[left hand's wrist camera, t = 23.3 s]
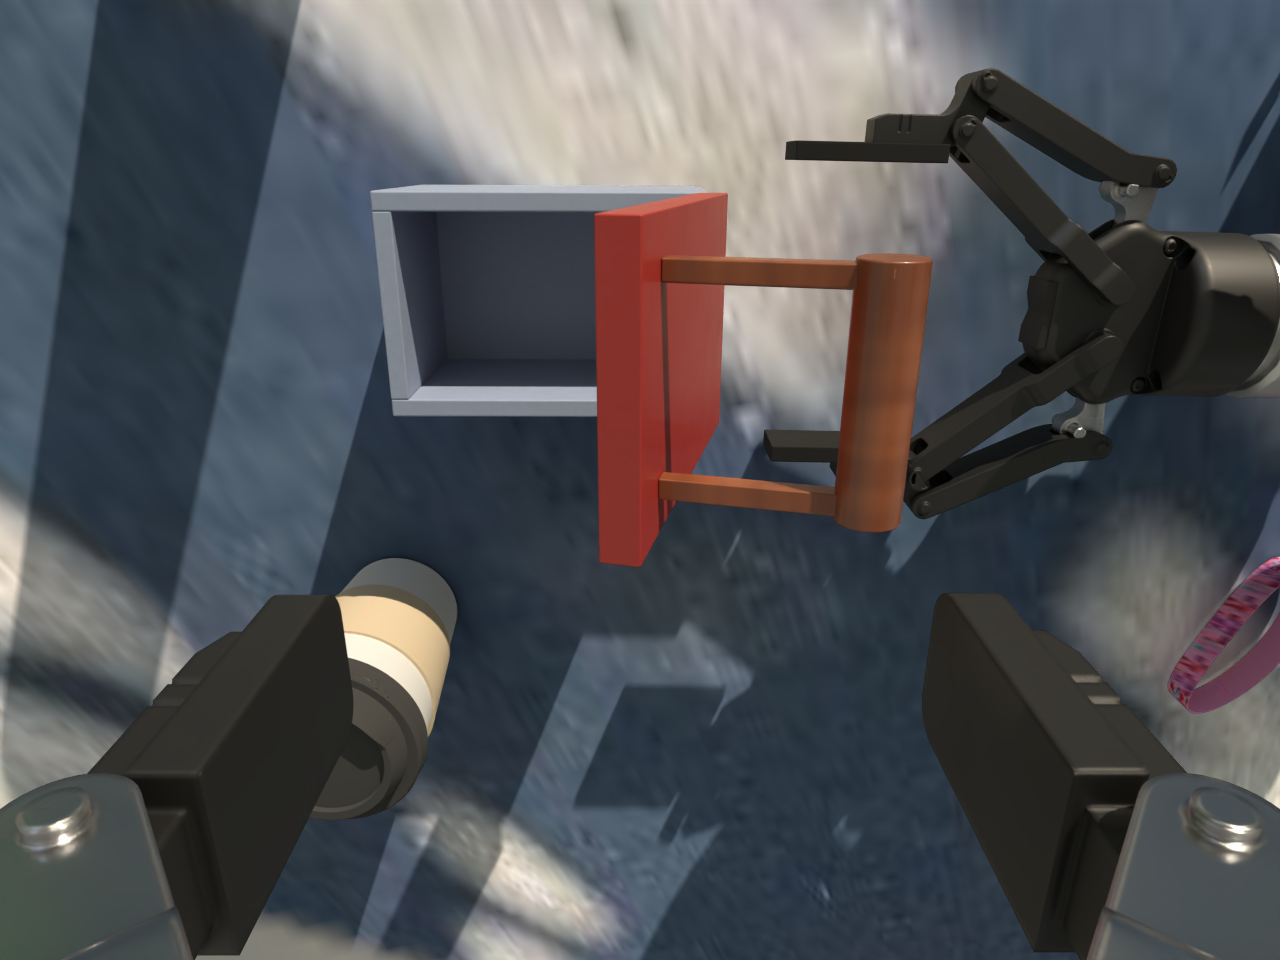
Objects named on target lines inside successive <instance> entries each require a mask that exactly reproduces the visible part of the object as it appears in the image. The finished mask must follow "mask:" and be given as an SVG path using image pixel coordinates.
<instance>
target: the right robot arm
mask: <svg viewBox="0 0 1280 960" xmlns="http://www.w3.org/2000/svg"><path fill="white" fill-rule="evenodd" d="M985 117H986V118H988V119H989V120H991V121H993V122H994V123H996V124H998V125H999V126H1001V127H1002V128H1004V129H1006V130H1007V131H1009V132H1010V133H1012V134H1014V135H1015V136H1017V137H1019V138H1020V139H1022V140H1023V141H1025V142H1027V143H1028V144H1030V145H1031V146H1033V147H1035V148H1036V149H1038V150H1040V151H1041V152H1043V153H1044V154H1046V155H1048V156H1049V157H1051V158H1052V159H1054V160H1056V161H1057V162H1059V163H1061V164H1062V165H1064V166H1065V167H1067V168H1069V169H1070V170H1072V171H1073V172H1075V173H1077V174H1079V175H1081V176H1083V177H1085V178H1087V179H1090V180H1093V181H1097V182H1102V183H1101V185H1100V186H1099V191H1100V194H1101V197H1102V198H1103V199H1104V200H1105V201H1107V202H1109V203H1111V204H1112V205H1113V206H1114V208H1115V213H1116V214H1115V219H1114V220H1111V221H1108V222H1106V223H1104V224H1103V225H1101V226H1100V227H1098V228H1096V229H1095V230H1093V231H1092V232H1090V233H1089V234H1087V233H1086V232H1085V230H1084V229H1083V228H1081V227H1080V226H1079V225H1078V224H1076V223H1074V222H1073V221H1071V220H1070V219H1069V218H1068V217H1067V216H1066V215H1065V214H1064V213H1063V212H1062V210H1061V209H1060V208H1059V207H1058V206H1057V205H1056V204H1055V203H1054V202H1053V201H1052V199H1051V198H1050V197H1049V196H1048V195H1047V194H1046V193H1045V192H1044V191H1043V190H1042V188H1041V187H1040V186H1039V185H1038V184H1037V183H1036V182H1035V181H1034V180H1033V179H1032V177H1031V176H1030V175H1029V174H1028V173H1027V172H1026V171H1025V170H1024V169H1023V168H1022V166H1021V165H1020V164H1019V163H1018V162H1017V161H1016V160H1015V159H1014V158H1013V157H1012V155H1011V154H1010V153H1009V152H1008V151H1007V150H1006V149H1005V148H1004V147H1003V146H1002V145H1001V143H1000V142H999V141H998V140H997V139H996V138H995V137H994V136H993V135H992V134H991V132H990V131H989V130H988V129H987V128H986V127H985V126H984V125H983V124H982V122H983V120H984V118H985ZM949 156H950V157H951V158H952V159H953V160H954V161H955V162H956V163H957V164H958V165H959V166H960V167H961V168H962V170H963V171H964V172H965V173H966V174H967V175H968V176H969V177H970V178H971V179H972V180H973V181H974V182H975V183H976V184H977V186H978V187H979V188H980V189H981V190H982V191H983V192H984V193H985V194H986V195H987V196H988V197H989V198H990V199H991V201H992V202H993V203H994V204H995V205H996V206H997V207H998V208H999V209H1000V210H1001V211H1002V212H1003V213H1004V214H1005V216H1006V217H1007V218H1008V219H1009V220H1010V221H1011V222H1012V223H1013V224H1014V225H1015V226H1016V227H1017V228H1018V229H1019V231H1020V232H1021V233H1022V234H1023V235H1024V236H1025V240H1026V242H1027V243H1028V244H1029V245H1030V246H1031V247H1032V248H1033V249H1034V250H1035V252H1036V253H1037V254H1038V255H1039V256H1040V257H1041V258H1042V259H1043V260H1044V261H1045V262H1044V263H1043V264H1042V265H1041V267H1040V268H1039V269H1038V271H1037V273H1036V275H1035V276H1030V279H1029V285H1028V290H1027V296H1028V311H1027V313H1026V316H1025V318H1024V320H1023V322H1022V324H1021V329H1020V334H1019V340H1018V341H1020V342H1022V343H1023V348H1024V351H1025V353H1024V354H1022V355H1021V356H1019V357H1018V358H1017V359H1015V360H1014V361H1012V362H1011V363H1010V364H1008V365H1007V366H1006V367H1004V369H1003V370H1002V372H1001V375H1000V376H998V377H997V378H996V379H994V380H993V381H992V382H990V383H989V384H987V385H986V386H984V387H983V388H982V389H980V390H979V391H977V392H976V393H975V394H973V395H972V396H970V397H969V398H968V399H966V400H965V401H963V402H962V403H960V404H959V405H958V406H956V407H955V408H953V409H952V410H951V411H949V412H948V413H946V414H945V415H944V416H942V417H941V418H939V419H938V420H936V421H935V422H934V423H932V424H931V425H929V426H928V427H927V428H925V429H924V430H922V431H921V432H919V433H918V434H917V435H915V436H914V437H912V438H911V441H910V449H909V457H908V465H907V473H906V481H905V490H904V498H903V501H904V502H905V503H906V505H907V506H908V507H909V509H910V510H911V511H912V512H913V514H914V515H915V516H916V517H918V518H919V519H927V518H930V517H933V516H935V515H937V514H940V513H942V512H945V511H947V510H950V509H952V508H955V507H957V506H959V505H962V504H964V503H967V502H969V501H972V500H974V499H976V498H979V497H981V496H984V495H986V494H989V493H991V492H993V491H996V490H998V489H1001V488H1003V487H1006V486H1008V485H1010V484H1013V483H1015V482H1018V481H1020V480H1023V479H1025V478H1027V477H1030V476H1032V475H1035V474H1037V473H1040V472H1042V471H1044V470H1047V469H1049V468H1052V467H1054V466H1057V465H1059V464H1062V463H1064V462H1076V461H1088V460H1099V459H1103V458H1105V457H1106V456H1108V455H1109V453H1110V452H1111V450H1112V447H1113V446H1112V441H1111V440H1110V439H1109V438H1108V437H1106V436H1104V435H1103V433H1102V432H1103V423H1104V413H1105V404H1106V403H1107V402H1109V401H1111V400H1113V399H1115V398H1118V397H1121V396H1125V395H1160V396H1209V397H1210V396H1219V395H1223V394H1224V395H1226V396H1229V397H1260V398H1280V234H1254V235H1251V236H1248V235H1246V234H1241V233H1213V232H1171V231H1157V230H1155V229H1153V228H1151V227H1150V226H1149V225H1148V224H1146V222H1147V219H1148V216H1149V213H1150V210H1151V207H1152V204H1153V201H1154V198H1155V195H1156V192H1157V189H1158V188H1163V187H1166V186H1168V185H1169V184H1170V183H1171V182H1172V181H1173V180H1174V178H1175V176H1176V172H1177V168H1176V164H1175V163H1174V162H1173V161H1172V160H1170V159H1167V158H1161V157H1154V156H1147V155H1141V154H1134V153H1129V152H1128V151H1126V150H1124V149H1123V148H1121V147H1120V146H1118V145H1117V144H1115V143H1113V142H1112V141H1110V140H1109V139H1107V138H1106V137H1104V136H1102V135H1101V134H1099V133H1098V132H1096V131H1094V130H1093V129H1091V128H1090V127H1088V126H1087V125H1085V124H1083V123H1082V122H1080V121H1079V120H1077V119H1075V118H1074V117H1072V116H1071V115H1069V114H1068V113H1066V112H1064V111H1063V110H1061V109H1060V108H1058V107H1057V106H1055V105H1053V104H1052V103H1050V102H1049V101H1047V100H1045V99H1044V98H1042V97H1041V96H1039V95H1038V94H1036V93H1034V92H1033V91H1031V90H1030V89H1028V88H1026V87H1025V86H1023V85H1022V84H1020V83H1019V82H1017V81H1015V80H1014V79H1012V78H1011V77H1009V76H1008V75H1006V74H1004V73H1003V72H1001V71H1000V70H998V69H995V68H989V69H985V70H981V71H977V72H973V73H969V74H966V75H964V76H962V77H961V78H960V79H959V80H958V82H957V84H956V87H955V95H954V97H953V100H952V102H951V104H950V105H949V107H948V109H947V110H946V111H945V112H943V113H942V114H940V115H923V114H883V115H879V116H876V117H873V118H871V119H868V120H867V126H866V136H865V142H834V141H790V142H786V155H785V160H822V161H866V162H910V163H948V158H949ZM1065 391H1067V392H1068V393H1070V394H1071V395H1072V396H1074V397H1076V402H1075V404H1074V406H1073V407H1072V408H1071V409H1070V410H1068V411H1066V412H1064V413H1061V414H1056V415H1055V416H1054V417H1053V418H1052V424H1047V425H1042V426H1038V427H1034V428H1031V429H1028V430H1026V431H1023V432H1021V433H1019V434H1016V435H1014V436H1011V437H1009V438H1007V439H1004V440H1002V441H1000V442H997V443H995V444H992V445H990V446H988V447H985V448H983V449H980V450H978V451H976V452H973V453H971V454H969V455H966V456H964V457H962V456H963V455H964V454H966V453H967V452H969V451H970V450H972V449H973V448H975V447H976V446H977V445H979V444H980V443H982V442H983V441H985V440H986V439H988V438H989V437H991V436H992V435H993V434H995V433H996V432H998V431H999V430H1001V429H1002V428H1004V427H1005V426H1006V425H1008V424H1009V423H1011V422H1012V421H1014V420H1015V419H1017V418H1018V417H1019V416H1021V415H1022V414H1024V413H1025V412H1027V411H1028V410H1030V409H1031V408H1033V407H1035V406H1041V405H1044V404H1047V403H1048V402H1050V401H1052V400H1053V399H1054V398H1056V397H1057V396H1059V395H1060V394H1062V393H1063V392H1065ZM839 439H840V431H803V430H764V441H763V444H764V447H765V449H766V451H767V453H768V456H769V458H770V460H771V461H779V462H830V468H831V470H832V471H833V473H834V474H835V476H836V471H837V461H838V450H839ZM960 457H961V458H960Z"/></svg>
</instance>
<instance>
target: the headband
mask: <svg viewBox="0 0 1280 960" xmlns="http://www.w3.org/2000/svg"><path fill="white" fill-rule="evenodd" d="M1279 587H1280V557H1276V558H1273V559H1271V560H1269V561H1267V562H1265V563H1264V564H1263V565H1261V566H1260V567H1259V568H1257V569H1256V570H1255V571H1254V572H1253V573H1252V574H1251V575H1250V576H1249V577H1248V578H1247V579H1246V580H1245V581H1244V582H1243V583H1242V584H1241V585H1240V586H1239V587H1238V588H1237V589H1236V590H1235V591H1234V593H1233V594H1232V595H1231V596H1230V597H1229V598H1228V599H1227V601H1226V602H1225V603H1224V604H1223V605H1222V607H1221V608H1220V609H1219V610H1218V611H1217V613H1216V614H1215V615H1214V616H1213V617H1212V619H1211V620H1210V621H1209V622H1208V624H1207V625H1206V626H1205V627H1204V629H1203V630H1202V631H1201V632H1200V634H1199V635H1198V636H1197V638H1196V639H1195V640H1194V642H1193V643H1192V644H1191V646H1190V647H1189V648H1188V650H1187V651H1186V652H1185V654H1184V655H1183V657H1182V658H1181V659H1180V661H1179V662H1178V664H1177V666H1176V667H1175V669H1174V671H1173V673H1172V674H1171V677H1170V679H1169V682H1168V690H1169V692H1170V693H1171V694H1172V695H1173V696H1174V697H1175V698H1176V699H1177V700H1178V701H1179V702H1180V703H1181V704H1182V705H1183V706H1184V707H1185V708H1186V709H1187V710H1188V711H1189V712H1191V713H1194V714H1198V713H1204V712H1208V711H1211V710H1214V709H1216V708H1219V707H1221V706H1223V705H1225V704H1227V703H1229V702H1231V701H1232V700H1234V699H1236V698H1238V697H1239V696H1241V695H1242V694H1244V693H1245V692H1247V691H1248V690H1249V689H1251V688H1252V687H1253V686H1255V685H1256V684H1257V683H1259V682H1260V681H1261V680H1262V679H1263V678H1265V677H1266V676H1267V675H1268V674H1269V673H1270V672H1271V671H1272V670H1273V669H1274V668H1275V667H1276V666H1277V665H1278V664H1279V663H1280V613H1279V614H1278V616H1277V618H1276V619H1275V621H1274V623H1273V624H1272V626H1271V627H1270V628H1269V630H1268V631H1267V632H1266V634H1265V635H1264V636H1263V637H1262V639H1261V640H1260V641H1259V642H1258V643H1257V644H1256V645H1255V646H1254V648H1253V649H1252V650H1251V651H1250V652H1249V653H1248V654H1246V655H1245V656H1244V657H1243V658H1242V659H1241V660H1240V661H1239V662H1238V663H1236V664H1235V665H1234V666H1233V667H1231V668H1230V669H1229V670H1227V671H1226V672H1224V673H1223V674H1222V675H1220V676H1219V677H1217V678H1215V679H1214V680H1212V681H1210V682H1209V683H1207V684H1205V685H1203V686H1201V687H1199V688H1196V689H1195V687H1196V685H1197V684H1198V682H1199V681H1200V679H1201V678H1202V676H1203V675H1204V673H1205V672H1206V671H1207V669H1208V668H1209V666H1210V665H1211V664H1212V663H1213V661H1214V660H1215V659H1216V657H1217V656H1218V655H1219V654H1220V652H1221V651H1222V650H1223V649H1224V647H1225V646H1226V645H1227V644H1228V642H1229V641H1230V640H1231V639H1232V637H1233V636H1234V635H1235V634H1236V633H1237V631H1238V630H1239V629H1240V628H1241V627H1242V626H1243V624H1244V623H1245V622H1246V621H1247V620H1248V619H1249V617H1250V616H1251V615H1252V614H1253V613H1254V612H1255V611H1256V610H1257V608H1258V607H1259V606H1260V605H1261V604H1262V603H1263V602H1264V601H1265V600H1266V599H1267V598H1268V597H1269V596H1270V595H1271V594H1272V593H1273V592H1274V591H1275V590H1276V589H1277V588H1279Z"/></svg>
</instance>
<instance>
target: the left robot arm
mask: <svg viewBox="0 0 1280 960" xmlns="http://www.w3.org/2000/svg"><path fill="white" fill-rule="evenodd" d="M353 704H354V702H353V690H352V683H351V676H350V669H349V662H348V655H347V648H346V641H345V634H344V627H343V620H342V613H341V608H340V605H339V602H338V600H337V599H336V597H335V596H333V595H274V596H273V597H271V598H270V599H269V600H268V602H267V603H266V604H265V605H264V606H263V607H262V609H261V610H260V611H259V612H258V613H257V615H256V616H255V617H254V618H253V619H252V621H251V622H250V623H249V624H248V625H247V626H246V628H245V629H244V630H243V631H242V632H230V633H228V634H227V635H225V636H223V637H222V638H220V639H218V640H217V641H215V642H213V643H212V644H210V645H209V646H207V647H205V648H204V649H202V650H200V651H199V652H197V653H196V654H195V655H194V656H193V657H192V658H191V659H190V660H189V661H188V662H187V663H186V665H185V666H184V667H183V668H182V669H181V670H180V671H179V672H178V673H177V675H176V676H175V677H174V678H173V679H172V684H168V685H167V686H166V687H165V688H164V689H163V690H162V691H161V692H160V693H159V695H158V696H157V697H156V698H155V699H154V700H153V706H148V707H147V708H146V709H145V710H144V711H143V712H142V713H141V715H140V716H139V717H138V718H137V719H136V720H135V721H134V722H133V723H132V725H131V726H130V727H129V728H128V729H127V730H126V731H125V732H124V733H123V735H122V736H121V737H120V738H119V739H118V740H117V741H116V742H115V743H114V745H113V746H112V747H111V748H110V749H109V750H108V751H107V752H106V753H105V755H104V756H103V757H102V758H101V759H100V760H99V761H98V762H97V763H96V765H95V766H94V767H93V768H92V769H91V770H90V771H89V772H88V774H83V775H77V776H73V777H68V778H64V779H61V780H58V781H55V782H51V783H49V784H46V785H44V786H41V787H39V788H36V789H34V790H32V791H30V792H28V793H26V794H24V795H22V796H20V797H18V798H17V799H15V800H13V801H12V802H10V803H8V804H7V805H5V806H4V807H3V808H1V809H0V960H195V958H196V956H197V955H240V953H241V951H242V949H243V947H244V946H245V943H246V942H247V940H248V937H249V936H250V934H251V932H252V930H253V928H254V926H255V924H256V922H257V920H258V918H259V916H260V914H261V912H262V910H263V908H264V906H265V904H266V902H267V900H268V898H269V896H270V894H271V892H272V890H273V888H274V886H275V884H276V882H277V880H278V878H279V876H280V874H281V872H282V870H283V868H284V866H285V864H286V862H287V860H288V858H289V856H290V854H291V852H292V850H293V848H294V846H295V844H296V842H297V840H298V838H299V836H300V834H301V832H302V830H303V828H304V826H305V824H306V822H307V820H308V818H309V816H310V814H311V812H312V810H313V808H314V806H315V804H316V802H317V800H318V798H319V796H320V794H321V792H322V790H323V788H324V786H325V784H326V782H327V780H328V778H329V776H330V774H331V773H332V771H333V769H334V767H335V765H336V763H337V761H338V759H339V757H340V755H341V753H342V751H343V749H344V747H345V745H346V742H347V740H348V737H349V734H350V730H351V725H352V719H353ZM922 710H923V719H924V725H925V730H926V733H927V736H928V739H929V742H930V744H931V746H932V748H933V750H934V752H935V754H936V756H937V758H938V760H939V762H940V764H941V766H942V768H943V770H944V772H945V774H946V776H947V778H948V780H949V782H950V784H951V786H952V788H953V790H954V792H955V794H956V796H957V798H958V800H959V802H960V804H961V806H962V808H963V810H964V812H965V814H966V816H967V818H968V820H969V822H970V824H971V826H972V828H973V830H974V832H975V834H976V836H977V838H978V840H979V842H980V844H981V846H982V848H983V850H984V853H985V855H986V857H987V859H988V861H989V863H990V865H991V867H992V869H993V871H994V873H995V875H996V877H997V879H998V881H999V883H1000V885H1001V887H1002V889H1003V891H1004V893H1005V895H1006V897H1007V899H1008V901H1009V903H1010V905H1011V907H1012V909H1013V911H1014V913H1015V915H1016V917H1017V919H1018V921H1019V923H1020V925H1021V927H1022V929H1023V931H1024V933H1025V935H1026V937H1027V939H1028V941H1029V943H1030V945H1031V947H1032V949H1033V951H1034V952H1076V953H1077V955H1078V957H1079V959H1080V960H1280V809H1279V808H1277V807H1276V806H1275V805H1273V804H1272V803H1270V802H1268V801H1267V800H1265V799H1263V798H1262V797H1260V796H1258V795H1256V794H1254V793H1252V792H1250V791H1248V790H1246V789H1244V788H1241V787H1239V786H1236V785H1234V784H1231V783H1229V782H1225V781H1222V780H1219V779H1216V778H1212V777H1207V776H1203V775H1197V774H1189V773H1187V772H1186V771H1185V770H1184V769H1183V768H1182V767H1181V766H1180V764H1179V763H1178V762H1177V761H1176V760H1175V759H1174V758H1173V757H1172V756H1171V754H1170V753H1169V752H1168V751H1167V750H1166V749H1165V748H1164V747H1163V745H1162V744H1161V743H1160V742H1159V741H1158V740H1157V739H1156V738H1155V736H1154V735H1153V734H1152V733H1151V732H1150V731H1149V730H1148V729H1147V727H1146V726H1145V725H1144V724H1143V723H1142V722H1141V721H1140V720H1139V718H1138V717H1137V716H1136V715H1135V714H1134V713H1133V712H1132V711H1131V710H1130V708H1129V707H1128V706H1127V705H1126V704H1121V698H1120V697H1119V696H1118V695H1117V694H1116V693H1115V692H1114V690H1113V689H1112V688H1111V687H1110V686H1109V685H1108V684H1107V683H1103V682H1102V677H1101V676H1100V675H1099V674H1098V672H1097V671H1096V670H1095V669H1094V668H1093V667H1092V666H1091V665H1090V663H1089V662H1088V661H1087V660H1086V659H1085V658H1084V657H1083V656H1082V655H1081V653H1080V652H1078V651H1077V650H1075V649H1074V648H1072V647H1070V646H1069V645H1067V644H1065V643H1064V642H1062V641H1061V640H1059V639H1057V638H1056V637H1054V636H1052V635H1051V634H1049V633H1048V632H1046V631H1044V630H1032V629H1031V628H1030V627H1029V625H1028V624H1027V623H1026V622H1025V621H1024V619H1023V618H1022V617H1021V616H1020V615H1019V613H1018V612H1017V611H1016V610H1015V609H1014V607H1013V606H1012V605H1011V604H1010V603H1009V601H1008V600H1007V599H1006V598H1005V597H1004V596H1003V595H1001V594H997V593H944V594H942V595H940V596H939V598H938V600H937V602H936V605H935V609H934V615H933V622H932V629H931V636H930V643H929V650H928V658H927V665H926V672H925V679H924V686H923V694H922Z"/></svg>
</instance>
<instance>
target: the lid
mask: <svg viewBox="0 0 1280 960" xmlns="http://www.w3.org/2000/svg"><path fill="white" fill-rule="evenodd" d="M727 202H728V194H727V193H695V194H690V195H685V196H680V197H675V198H670V199H665V200H660V201H655V202H650V203H645V204H640V205H635V206H630V207H626V208H621V209H616V210H611V211H606V212H601V213H596V214H594V250H595V316H596V382H597V448H598V514H599V562H600V563H606V564H614V565H623V566H632V567H641V565H642V563H643V561H644V559H645V558H646V556H647V554H648V552H649V550H650V548H651V547H652V545H653V543H654V541H655V539H656V537H657V536H658V534H659V532H660V530H661V528H662V526H663V525H664V523H665V521H666V519H667V517H668V515H669V513H670V512H671V510H672V508H673V506H674V504H675V502H676V501H680V502H691V503H701V504H712V505H722V506H733V507H743V508H754V509H764V510H775V511H785V512H796V513H806V514H817V515H827V516H833V518H834V520H835V521H836V522H837V523H838V524H839V525H841V526H843V527H845V528H848V529H851V530H855V531H860V532H869V533H880V532H888V531H891V530H894V529H896V528H897V527H898V526H899V525H900V522H901V514H902V506H903V498H904V490H905V481H906V473H907V465H908V457H909V449H910V441H911V433H912V425H913V417H914V409H915V400H916V392H917V384H918V376H919V368H920V360H921V352H922V344H923V336H924V328H925V319H926V311H927V303H928V295H929V287H930V279H931V271H932V263H933V261H932V259H931V258H929V257H925V256H918V255H907V254H865V255H860V256H858V257H857V258H856V261H845V260H811V259H778V258H744V257H725V254H726V228H727ZM724 285H737V286H764V287H791V288H818V289H845V290H853V297H852V308H851V319H850V330H849V341H848V352H847V363H846V373H845V384H844V395H843V406H842V417H841V428H840V439H839V450H838V461H837V471H836V482H835V487H829V486H817V485H806V484H795V483H783V482H772V481H761V480H749V479H738V478H726V477H715V476H704V475H692V474H691V473H692V471H693V469H694V467H695V466H696V464H697V462H698V460H699V458H700V456H701V455H702V453H703V451H704V449H705V447H706V445H707V444H708V442H709V440H710V438H711V436H712V434H713V433H714V431H715V429H716V427H717V425H718V423H719V410H720V384H721V358H722V332H723V306H724Z"/></svg>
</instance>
